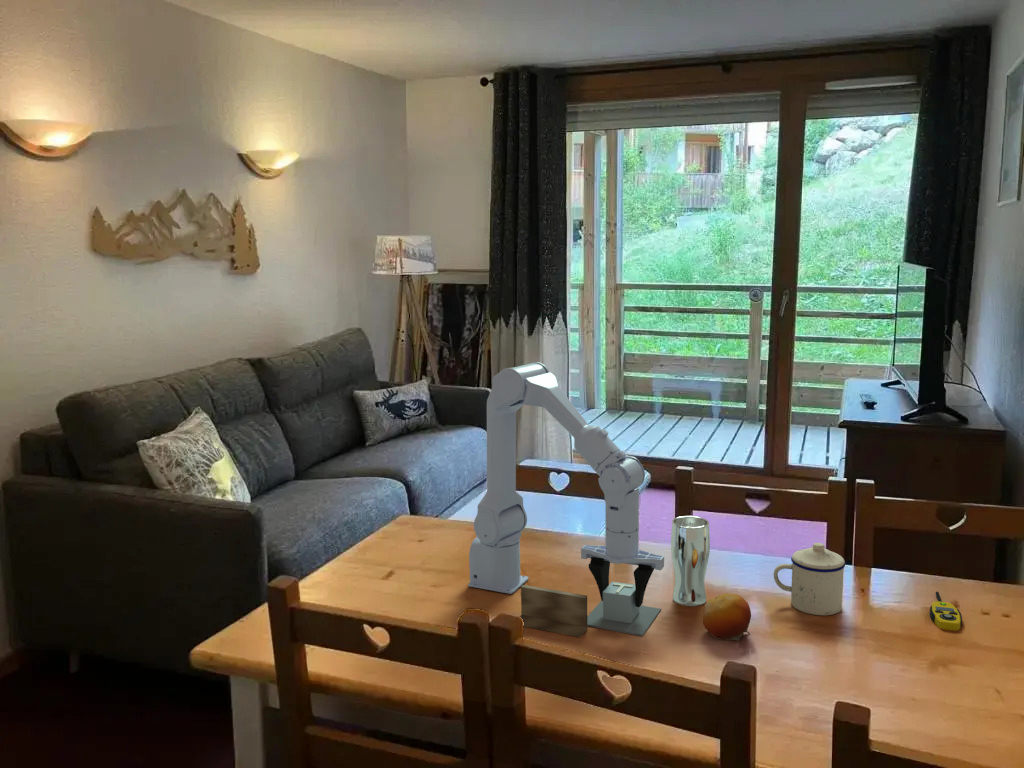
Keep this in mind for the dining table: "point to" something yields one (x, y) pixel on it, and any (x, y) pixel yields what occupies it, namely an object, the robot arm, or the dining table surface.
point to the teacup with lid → (815, 580)
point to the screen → (554, 610)
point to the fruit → (727, 616)
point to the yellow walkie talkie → (945, 615)
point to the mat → (635, 628)
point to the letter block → (619, 602)
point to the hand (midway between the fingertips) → (621, 601)
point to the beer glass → (690, 559)
